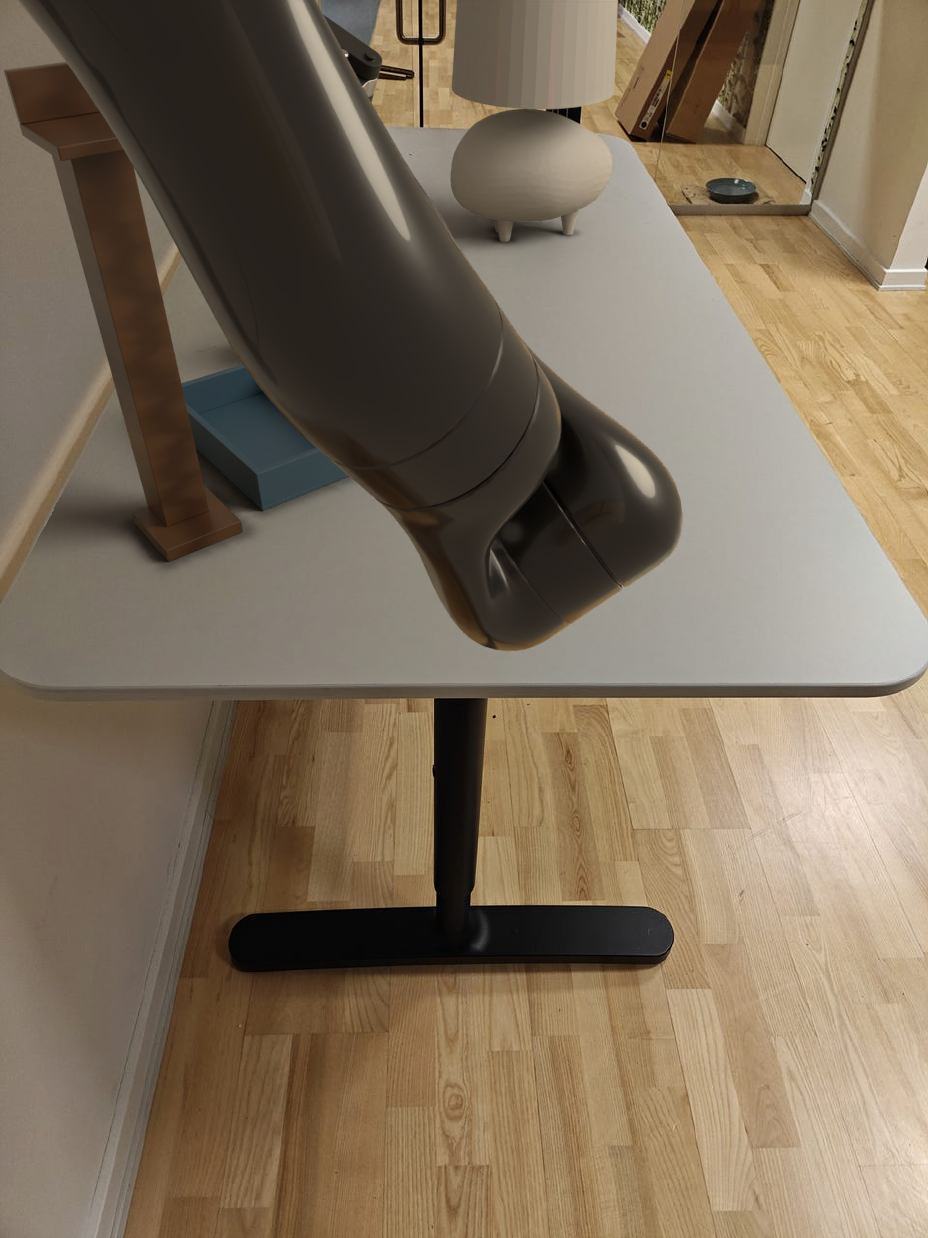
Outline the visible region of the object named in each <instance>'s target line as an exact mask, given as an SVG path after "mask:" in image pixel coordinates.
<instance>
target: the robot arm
mask: <svg viewBox="0 0 928 1238" xmlns="http://www.w3.org/2000/svg"><path fill="white" fill-rule="evenodd" d="M17 2H18V3H19V4H20V6H21V7H22V8H23V10H24V11H25V12H26V14H28V15H29V17H30V18H31V19H32V20H33V22H34V23H35V24H36V25H37V27H38V28H39V29H40V30H41V32H42V33H43V34H44V36H46V38H47V39H48V40H49V42H50V43H51V44H52V46H53V48H55V50H56V51H57V52H58V53H59V55H60V56H61V58H62V59H63V60H64V62H66V63H67V64H68V65H69V67H70V68H71V69H72V71H73V72H74V74H75V75H76V77H77V78H78V80H79V81H80V83H81V84H82V86H83V87H84V89H85V90H86V92H87V93H88V95H89V96H90V98H91V99H92V101H93V102H94V104H95V105H96V106H97V108H98V109H99V111H100V112H101V114H102V115H103V117H104V118H105V120H106V121H107V123H108V125H109V126H110V128H111V129H112V131H113V132H114V134H115V135H116V137H117V139H118V140H119V142H120V144H121V145H122V147H123V149H124V151H125V153H126V154H127V156H128V158H129V160H130V161H131V163H132V165H133V167H134V170H135V173H136V174H137V175H138V178H139V179H140V182H141V183H142V184H143V186H144V188H145V190H146V192H147V193H148V195H149V197H150V198H151V200H152V202H153V204H154V206H155V208H156V210H157V212H158V213H159V215H160V218H161V219H162V221H163V223H164V225H165V227H166V230H167V231H168V233H169V234H170V237H171V238H172V241H173V242H174V244H175V246H176V248H177V250H178V252H179V254H180V256H181V257H182V259H183V261H184V263H185V265H186V267H187V269H188V271H189V273H190V274H191V276H192V278H193V280H194V281H195V283H196V286H197V287H198V289H199V291H200V292H201V294H202V296H203V298H204V301H205V302H206V304H207V306H208V308H209V309H210V311H211V313H212V315H213V317H214V318H215V320H216V323H217V324H218V326H219V327H220V329H221V331H222V333H223V335H224V336H225V338H226V341H228V343H229V345H230V346H231V349H233V351H234V353H235V354H236V356H237V358H238V359H239V360H240V362H241V365H242V364H243V365H244V367H245V368H246V370H247V371H248V372H249V374H250V375H251V376H252V378H253V379H254V381H255V382H256V383H257V385H258V386H259V388H260V389H261V390H262V391H263V392H264V394H265V395H266V396H267V397H268V398H269V400H270V401H271V402H272V403H273V404H274V406H275V407H276V408H277V409H278V410H279V411H280V413H281V414H282V415H283V416H284V417H285V418H286V419H287V420H288V421H289V423H290V424H291V425H292V426H293V427H294V428H295V429H296V430H297V431H298V432H299V433H300V434H301V435H302V436H303V437H304V438H305V439H307V440H308V441H309V442H310V443H311V444H312V445H313V446H315V447H316V448H317V449H318V450H319V451H320V452H321V453H323V454H324V455H325V456H326V457H328V458H329V459H330V460H331V461H332V462H333V463H334V464H336V465H337V466H338V467H339V468H340V469H341V470H343V471H344V472H345V473H346V474H347V475H348V476H349V477H348V478H350V479H352V480H353V481H354V482H355V483H356V484H357V485H358V486H360V487H361V488H362V489H363V490H365V492H367V493H368V494H369V495H370V496H371V497H373V498H374V499H375V500H376V501H377V503H379V504H380V505H382V506H383V507H384V508H385V509H386V510H387V512H388V513H389V514H390V515H391V516H392V517H393V518H394V520H395V521H396V522H397V523H398V525H399V526H400V527H401V528H402V530H403V531H404V532H405V534H406V535H407V537H408V538H409V540H410V541H411V543H412V545H413V547H414V548H415V550H416V552H417V553H418V555H419V558H420V561H421V562H422V564H423V567H424V569H425V571H426V574H427V576H428V578H429V580H430V583H431V585H432V587H433V589H434V591H435V593H436V595H437V597H438V599H439V601H440V603H441V604H442V606H443V607H444V609H445V611H446V612H447V614H448V616H449V617H450V619H451V621H453V623H454V624H455V626H457V627H458V629H459V630H460V631H461V632H462V633H463V634H464V635H465V636H466V637H468V638H469V639H470V640H472V641H473V642H475V643H476V644H478V645H480V646H482V647H484V648H488V649H491V650H495V651H502V652H519V651H524V650H528V649H531V648H534V647H537V646H539V645H541V644H543V643H545V642H547V641H548V640H549V639H551V638H552V637H554V636H556V635H557V634H559V633H560V632H562V631H563V630H564V629H566V628H568V627H569V626H570V625H572V624H574V623H575V622H577V621H578V620H580V619H581V618H583V617H584V616H585V615H587V614H588V613H590V612H591V611H593V610H594V609H596V608H598V607H599V606H601V605H602V604H603V603H605V602H607V600H609V599H611V598H612V597H615V595H617V594H618V593H619V592H621V591H623V588H627V587H629V586H631V585H632V584H633V583H635V582H637V581H639V580H640V579H641V578H643V577H644V576H646V575H647V574H649V573H650V572H652V571H653V570H655V569H656V568H658V567H659V566H661V565H662V564H663V563H664V561H666V560H667V559H668V558H670V557H671V555H673V553H674V552H675V551H676V549H677V547H678V545H679V542H680V539H681V535H682V532H683V516H684V515H683V506H682V499H681V497H680V494H679V490H678V487H677V484H676V483H675V482H676V481H674V478H673V477H672V474H671V473H670V471H669V469H668V468H667V467H666V466H665V464H664V463H663V461H662V460H661V459H660V458H659V457H658V456H657V454H656V453H655V452H653V450H652V449H650V448H649V447H648V446H647V445H646V444H645V443H644V442H642V441H641V440H640V438H638V437H637V436H636V435H635V434H634V433H632V432H631V431H630V430H628V429H627V428H626V427H624V426H623V425H622V424H621V423H619V422H618V421H617V420H616V419H614V418H613V417H611V416H610V415H609V414H608V413H606V412H605V411H603V410H602V409H601V408H599V407H598V406H597V405H595V404H594V403H593V402H591V401H590V400H589V399H587V398H586V397H585V396H584V395H583V394H581V393H580V392H578V391H577V390H576V389H575V388H574V387H573V386H572V385H570V384H569V383H567V382H566V381H565V379H563V378H562V377H560V375H558V374H557V373H556V372H555V371H554V369H552V368H551V367H549V365H547V364H546V362H544V361H543V360H542V359H541V358H540V357H539V356H538V355H537V354H536V353H535V352H534V351H533V350H532V348H531V347H530V346H529V345H528V344H527V343H526V342H525V341H524V339H523V338H522V337H521V335H519V333H518V331H517V330H516V328H515V327H514V326H513V324H512V323H511V321H510V320H509V318H508V316H507V315H506V313H505V312H504V311H503V309H502V308H501V306H500V305H499V303H498V301H497V300H496V299H495V297H494V296H493V294H492V293H491V291H490V290H489V288H488V287H487V285H486V284H485V283H484V281H483V280H482V279H481V277H480V275H479V274H478V273H477V271H476V270H475V268H474V266H473V265H472V264H471V263H470V261H469V260H468V258H467V257H466V255H465V253H464V252H463V251H462V250H461V247H460V246H459V245H458V243H457V241H456V240H455V239H454V237H453V235H452V233H451V231H450V229H449V227H448V224H447V223H446V221H445V219H444V218H443V216H442V214H441V213H440V211H439V209H438V208H437V206H436V205H435V203H434V202H433V200H432V199H431V198H430V195H428V193H427V192H426V191H425V189H424V187H423V186H422V185H421V183H420V182H419V180H418V179H417V177H416V176H415V174H414V173H413V172H412V170H411V168H410V166H409V164H408V163H407V162H406V160H405V158H404V156H403V155H402V153H401V151H400V150H399V148H398V146H397V145H396V143H395V141H394V139H393V138H392V136H391V134H390V133H389V131H388V129H387V127H386V126H385V123H384V122H383V120H382V118H381V117H380V115H379V113H378V112H377V110H376V108H375V106H374V104H373V103H372V102H373V98H374V94H375V91H376V87H377V83H378V80H379V77H380V76H379V75H380V72H381V68H382V64H383V57H382V56H381V54H380V53H379V52H377V51H376V50H375V49H374V48H372V47H371V46H369V45H368V44H366V43H365V42H363V41H362V40H360V39H359V38H357V37H356V36H354V35H353V34H352V33H350V32H349V31H348V30H346V29H345V28H344V27H342V26H341V25H339V24H338V23H336V22H335V21H333V20H332V19H330V18H329V17H328V16H326V15H325V14H324V13H323V12H322V9H321V7H320V6H319V4H318V2H317V0H17Z"/></svg>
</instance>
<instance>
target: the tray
mask: <svg viewBox="0 0 928 1238" xmlns="http://www.w3.org/2000/svg"><path fill="white" fill-rule="evenodd" d="M181 384H182V389H183V393H184V398H185V403H186V407H187V412H188V416H189V421H190V425H191V430H192V434H193V439H194V444H195V448H196V450H197V451H199V452H200V453H201V455H203V456H204V458H206V459H207V460H208V461H209V462H210V463H211V464H212V465H213V466H214V467H215V468H217V470H218V471H220V472H221V473H222V474H223V475H224V476H225V477H226V478H227V479H228V480H229V481H230V482H231V483H232V484H234V486H236V487H237V488H238V489H239V490H240V491H241V492H242V493H243V494H244V495H245V496H247V498H248V499H249V500H251V502H253V503H254V504H255V505H256V506H257V507H258V508H259V509H260V510H261V511H262V512H263V511H266V510H268V509H271V508H273V507H276V506H279V505H281V504H283V503H286V502H288V501H291V500H294V499H296V498H298V497H301V496H304V495H306V494H308V493H311V492H313V491H317V490H319V489H322V488H324V487H326V486H328V485H331V484H335V483H336V482H338V481H339V482H340V481H341V480H343V479H347V478H350V477H349V476H348V475H347V474H346V473H345V472H344V471H343V470H341V469H340V468H339V467H338V466H337V465H336V464H334V463H333V462H332V461H331V460H330V459H329V458H328V457H326V456H325V455H324V454H323V453H321V452H320V451H319V450H318V449H317V448H316V447H315V446H313V445H312V444H311V443H310V442H309V441H308V440H307V439H305V438H304V437H303V436H302V435H301V434H300V433H299V432H298V431H297V430H296V429H295V428H294V427H293V426H292V425H291V424H290V423H289V421H288V420H287V419H286V418H285V417H284V416H283V415H282V414H281V413H280V411H279V410H278V409H277V408H276V407H275V406H274V404H273V403H272V402H271V401H270V400H269V398H268V397H267V396H266V395H265V394H264V392H263V391H262V390H261V389H260V388H259V386H258V385H257V383H256V382H255V381H254V379H253V378H252V376H251V375H250V374H249V372H248V371H247V370H246V368H245V367H244V365H243V364H242V363H241V364H239V365H235V366H232V367H229V368H226V369H222V370H219V371H215V372H213V373H210V374H206V375H204V376H201V377H196V378H194V379H191V380H188V381H185V382H181Z"/></svg>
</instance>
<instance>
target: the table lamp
mask: <svg viewBox="0 0 928 1238" xmlns="http://www.w3.org/2000/svg"><path fill="white" fill-rule="evenodd" d="M618 7H619V0H456V9H455V25H454V26H455V27H454V41H453V58H452V74H451V75H452V76H451V91H452V92H453V94H454V95H456V96H458V97H459V98H461V99H463V100H466V101H469V102H472V103H477V104H481V105H485V106H486V105H487V106H491V107H500V108H509V109H508V110H503V111H499V112H496V113H493V114H490V115H488V116H485V117H484V118H483V117H482V119H480V120H478V121H477V122H475V123H474V124H472V126H471V127H470V128H468V130H467V131H466V132H465V134H464V135H462V138H461V139H460V141H459V143H458V144H457V146H456V148H455V150H454V152H453V156H452V160H451V166H450V178H449V179H450V180H449V181H450V188H451V192H452V195H453V196H454V199H455V201H456V202H457V203H458V204H459V205H460V206H461V207H462V208H463V209H465V210H466V211H467V212H469V213H471V214H472V215H475V216H476V217H480V218H484V219H487V220H493V221H494V227H495V232H496V233H498V238H499V242H503V243H506V242H510V241H511V236H512V231H513V227H514V226H513V225H514V222H524V223H525V222H526V223H527V222H543V221H550V220H554V219H557V218H560V220H561V228H562V234H563V235H566V236H570V235H571V236H572V235H574V230H575V227H576V222H577V219H578V214H579V210H582V209H584V208H586V207H587V206H589V205H591V204H592V203H593V202H595V201H596V200H597V199H598V198H599V197H600V196H601V195H602V194H603V193H604V191H605V190H606V189H607V187H608V184H609V181H610V179H611V176H612V171H613V155H612V152H611V150H610V148H609V147H608V144H607V143H606V142H605V141H604V140H603V139H602V138H601V137H600V136H599V135H597V133H595V132H593V131H592V130H591V129H589V128H587V127H586V126H584V125H582V124H581V123H578V122H576V121H574V120H572V119H571V118H568V117H566V116H564V115H561V114H560V113H559V114H558V113H556V112H553V111H549V110H559V109H560V110H561V109H571V108H579V107H585V106H590V105H595V104H598V103H599V104H600V103H601V102H604V101H607V100H609V99H611V98H612V97H613V96H614V94H615V87H616V86H615V85H616V62H617V61H616V60H617V37H618V36H617V34H618V33H617V32H618V9H619V8H618Z"/></svg>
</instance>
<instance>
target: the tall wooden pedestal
mask: <svg viewBox="0 0 928 1238" xmlns="http://www.w3.org/2000/svg"><path fill="white" fill-rule="evenodd" d="M3 73H4V76H5V80H6V83H7V87H8V90H9V94H10V97H11V101H12V104H13V107H14V110H15V111H14V112H15V114H16V117H17V121H18V123H19V128H20V131H21V134H22V136H23V137H24V138H26V139H27V140H29V141H30V142H31V143H33V144H35V145H36V146H38V147H40V148H41V149H42V150H44V151H45V152H47V153H49V154H50V155H51V157H52V161H53V165H54V169H55V172H56V176H57V179H58V184H59V186H60V190H61V193H62V198H63V201H64V205H65V208H66V213H67V216H68V220H69V223H70V226H71V230H72V234H73V237H74V238H73V239H74V242H75V246H76V249H77V253H78V256H79V260H80V263H81V267H82V270H83V275H84V278H85V282H86V286H87V289H88V292H89V296H90V300H91V303H92V307H93V311H94V313H95V317H96V318H95V319H96V322H97V326H98V330H99V333H100V337H101V341H102V343H103V348H104V352H105V355H106V357H107V358H106V359H107V362H108V366H109V370H110V374H111V377H112V380H113V384H114V389H115V391H116V395H117V399H118V402H119V406H120V409H121V414H122V417H123V421H124V425H125V429H126V432H127V435H128V439H129V443H130V446H131V450H132V454H133V458H134V461H135V466H136V469H137V472H138V475H139V479H140V483H141V487H142V490H143V494H144V498H145V503H146V505H147V506H145V507H143V508H139V509H137V510H135V511H131V515H132V519H133V522H134V524H135V525H136V527H137V528H138V529H139V530H140V531H141V532H142V533H143V535H144V536H145V537H146V539H148V541H149V542H150V543H151V544H152V545H153V546H154V547H155V548H156V549H157V551H158V552H159V553H160V554H161V556H163V558H165V560H166V561H167V562H168V563H170V562H172V561H174V560H177V559H180V558H182V557H184V556H187V555H190V554H191V553H192V554H193V553H194V552H197V551H199V550H202V549H203V548H204V549H205V548H206V547H210V546H211V545H214V544H216V543H219V542H221V541H224V540H226V539H229V538H230V537H234V536H236V535H238V534H241V533H243V532H244V530H243V529H244V528H243V525H242V520H241V519H240V518H239V517H238V516H236V515H235V513H233V511H232V510H231V509H230V508H228V507H227V505H225V504H224V503H223V502H222V501H221V500H220V499H219V497H217V496H216V495H215V494H214V493H213V492H212V491H211V490H210V489H209V488H208V487H207V486H206V485H205V484H204V480H203V476H202V471H201V466H200V462H199V458H198V453H197V449H196V448H195V444H194V439H193V434H192V430H191V425H190V421H189V416H188V412H187V407H186V403H185V398H184V393H183V389H182V384H181V383H182V380H181V376H180V371H179V366H178V362H177V357H176V353H175V349H174V344H173V343H174V342H173V339H172V335H171V329H170V325H169V320H168V317H167V311H166V307H165V302H164V298H163V293H162V290H161V289H162V288H161V285H160V281H159V275H158V271H157V266H156V261H155V257H154V253H153V252H154V251H153V247H152V244H151V239H150V234H149V230H148V229H149V228H148V226H147V221H146V216H145V212H144V206H143V202H142V197H141V194H140V188H139V185H138V180H137V175H136V170H135V168H134V167H133V165H132V163H131V161H130V160H129V158H128V156H127V154H126V153H125V151H124V149H123V147H122V145H121V144H120V142H119V140H118V139H117V137H116V135H115V134H114V132H113V131H112V129H111V128H110V126H109V125H108V123H107V121H106V120H105V118H104V117H103V115H102V114H101V112H100V111H99V109H98V108H97V106H96V105H95V104H94V102H93V101H92V99H91V98H90V96H89V95H88V93H87V92H86V90H85V89H84V87H83V86H82V84H81V83H80V81H79V80H78V78H77V77H76V75H75V74H74V72H73V71H72V69H71V68H70V67H69V65H68V64H67V63H66V61H62V62H55V63H54V62H53V63H47V64H46V63H45V64H37V65H32V66H31V65H30V66H24V67H16V68H9V69H8V68H7V69H4V70H3Z"/></svg>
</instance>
